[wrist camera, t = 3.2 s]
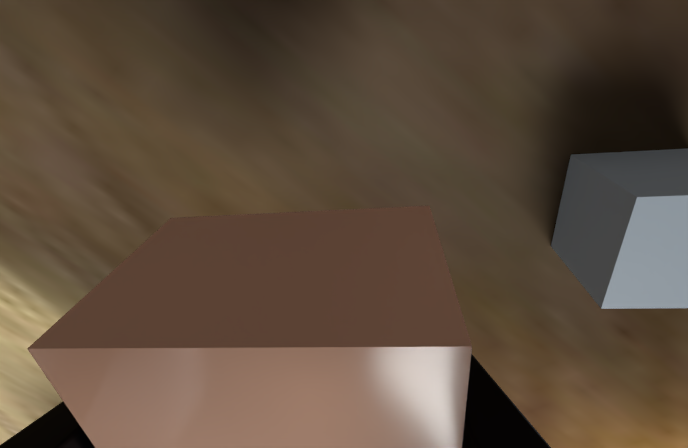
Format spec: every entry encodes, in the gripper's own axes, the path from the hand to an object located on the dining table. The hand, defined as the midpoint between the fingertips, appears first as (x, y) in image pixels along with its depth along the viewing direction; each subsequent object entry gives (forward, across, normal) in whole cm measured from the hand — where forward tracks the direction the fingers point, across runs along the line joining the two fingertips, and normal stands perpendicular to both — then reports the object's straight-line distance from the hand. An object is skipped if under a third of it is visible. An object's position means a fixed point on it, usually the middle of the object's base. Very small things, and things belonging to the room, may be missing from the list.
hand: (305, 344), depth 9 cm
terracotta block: (+1, 0, 0) cm, 1 cm away
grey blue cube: (+9, -12, +1) cm, 15 cm away
